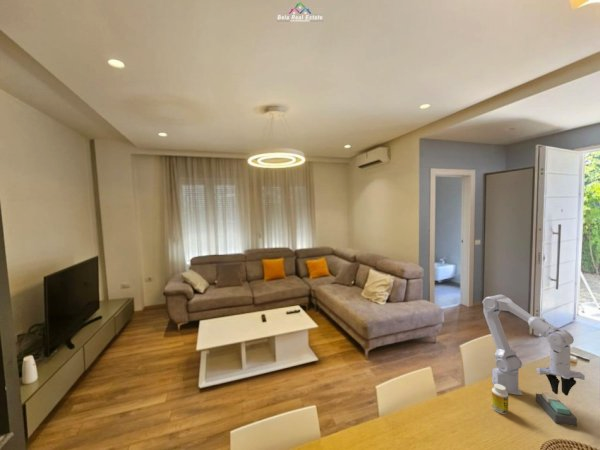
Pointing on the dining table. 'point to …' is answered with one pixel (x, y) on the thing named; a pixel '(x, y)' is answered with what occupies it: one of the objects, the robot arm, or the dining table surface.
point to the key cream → (550, 397)
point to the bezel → (551, 411)
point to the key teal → (559, 407)
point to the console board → (554, 420)
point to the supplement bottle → (500, 399)
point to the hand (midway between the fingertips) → (559, 393)
